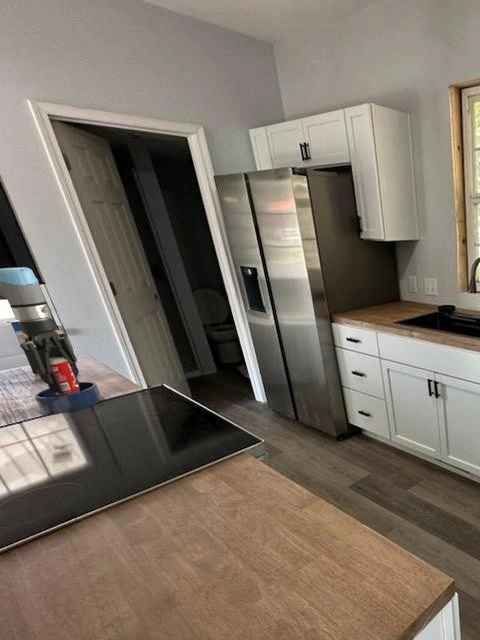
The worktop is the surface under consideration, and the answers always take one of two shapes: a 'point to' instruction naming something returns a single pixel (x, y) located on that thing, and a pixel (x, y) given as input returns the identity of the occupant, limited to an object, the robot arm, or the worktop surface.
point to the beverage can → (64, 376)
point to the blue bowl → (69, 399)
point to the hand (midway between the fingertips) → (65, 388)
